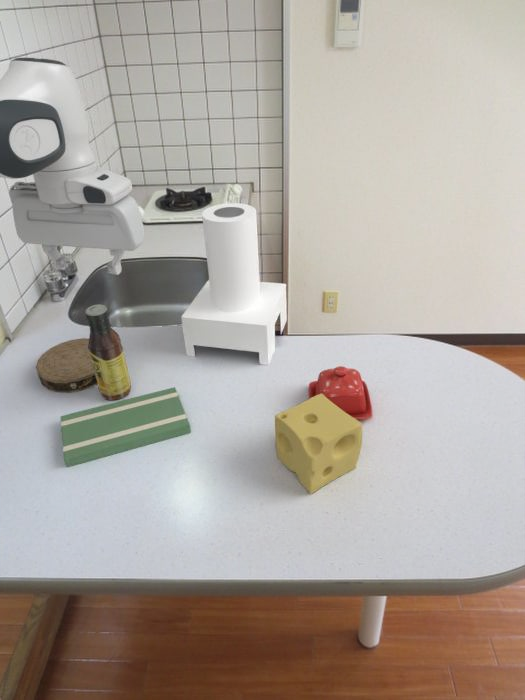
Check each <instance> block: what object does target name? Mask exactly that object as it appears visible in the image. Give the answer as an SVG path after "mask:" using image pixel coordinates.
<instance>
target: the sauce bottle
mask: <svg viewBox="0 0 525 700" xmlns="http://www.w3.org/2000/svg"><path fill="white" fill-rule="evenodd" d="M84 314H85V318H86V320H87V322H88V326H89V344H88V350H89V354H90V357H91V361H92V364H93V368H94V372H95V375H96V379H97V382H98V384H97V385H98V386H97V387H98V389H99V392H100V394H101V395H102V397H103V398H105V400H108V401H117V400H121V399H123V398H126V397H127V396H128V395H129V394H130V392H131V389H132V385H131V378H130V374H129V369H128V366H127V361H126V357H125V351H124V348H123V345H122V342H121V341H122V340H121V337H120V334H119V333H118V332H117V331H116V330H115V329H114V328H112V323H111V321H110V317H109V316H110V312H109V308H108V306H107V305H104V304H99V303H97V304H93V305H90V306H89V307H87V308H86V309H85V311H84Z"/></svg>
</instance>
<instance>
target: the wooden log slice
mask: <svg viewBox="0 0 525 700" xmlns="http://www.w3.org/2000/svg"><path fill="white" fill-rule="evenodd" d="M88 344H89V338H87V337H83V338H82V337H81V338H76V339H70V340H67V341H64V342H60V343H58V344H56V345H54V346H52V347H49V348H48V349H47V350H46V351H45V352H43V353H42V354H41V355H40V356H39V358H38V359H37V360H36V364H35V370H36V373H37V375H38V379H39V381H40V384H41V385H42V387H44V388H45V389H47V390H48V391H52V392H55V393H75V392H83V391H84V390H87V389H90V388H93V387H96V386H97V385H98V382H97V379H96V375H95V372H94V368H93V364H92V361H91V357H90V354H89V350H88Z"/></svg>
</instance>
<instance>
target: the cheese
mask: <svg viewBox="0 0 525 700" xmlns="http://www.w3.org/2000/svg"><path fill="white" fill-rule="evenodd" d="M274 432H275V433H274V441H275V452H276V458H277V459H278V460H279V461H280V462H281V463H282V464H283V466H285V468H287V469H288V470H289V471H291V473H295V474H296V476H297V479H298V481H299V482H300V484H301V485H302V486H303V487H304V488H305V490H306V491H307V492H308V493H309V494H310V495H312V494H314V493H316V492H317V491H319V490H320V489H321V488H323V487H325V486H326V485H328V484H329V483H331V482H333V481H335V480H336V479H338V478H339V477H342V476H344V475H345V474H347V473H348V472H351V471H353V470H355V469H356V467H357V463H358V460H359V457H360V455H361V451H362V450H361V449H362V444H363V424H362V422H361V421H359V419H355V418H353V417H352V416H350V415H348V414H347V413H345V412H344V411H343V410H341V409H340V408H339V407H338V406H336V405H335V404H334V403H332V402H331V401H330V400H329V399H327V398H326V397H325V396H324V395H323V394H319V395H316V396H314V397H312V398H310V399H309V398H308V399H306V400H304V401H303V402H301V403H299V404H297V405H295V406H292V407H290V408H288V409H287V410H284V411H281V412H279V413H277V414H275V415H274Z"/></svg>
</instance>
